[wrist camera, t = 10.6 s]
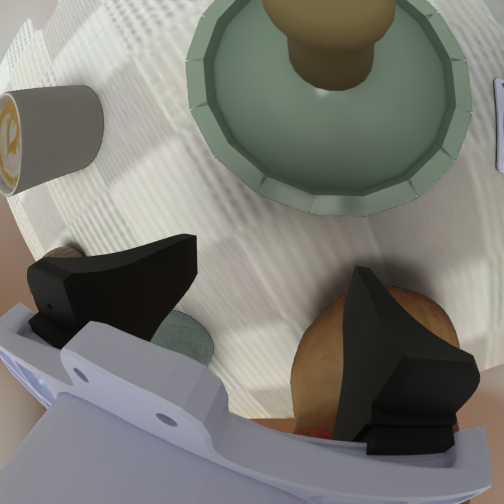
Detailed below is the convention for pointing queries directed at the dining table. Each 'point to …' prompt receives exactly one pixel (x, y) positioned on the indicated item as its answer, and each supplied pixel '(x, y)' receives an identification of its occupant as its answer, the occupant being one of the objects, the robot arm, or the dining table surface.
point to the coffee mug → (47, 134)
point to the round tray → (330, 111)
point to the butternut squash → (331, 361)
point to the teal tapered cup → (184, 337)
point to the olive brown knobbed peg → (331, 37)
